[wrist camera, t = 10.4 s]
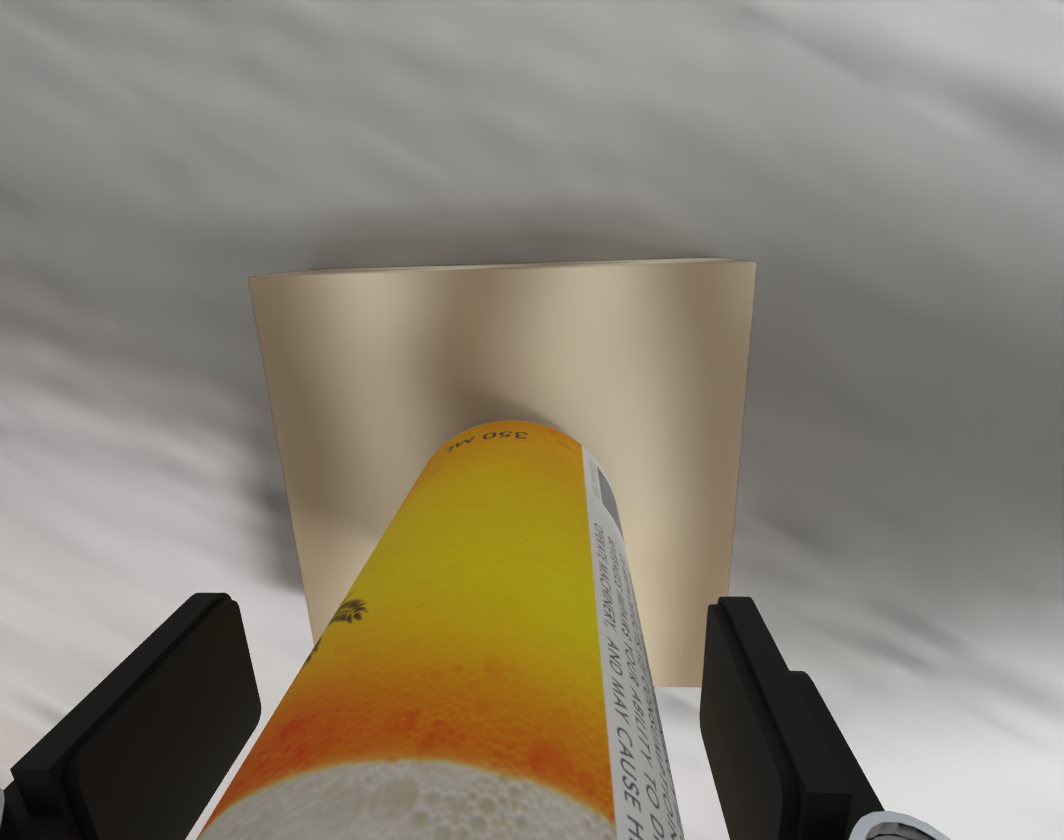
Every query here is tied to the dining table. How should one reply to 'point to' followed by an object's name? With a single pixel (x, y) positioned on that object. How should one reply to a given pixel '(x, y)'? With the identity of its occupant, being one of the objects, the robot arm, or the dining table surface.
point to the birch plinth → (518, 407)
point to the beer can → (474, 671)
